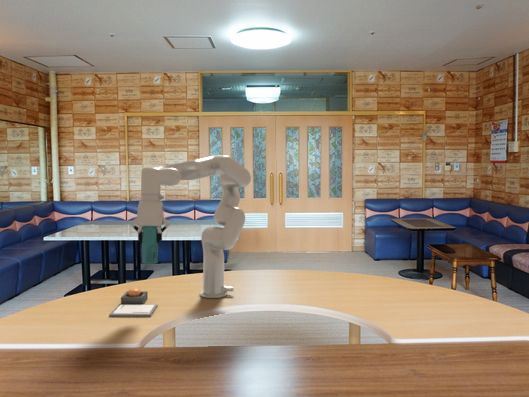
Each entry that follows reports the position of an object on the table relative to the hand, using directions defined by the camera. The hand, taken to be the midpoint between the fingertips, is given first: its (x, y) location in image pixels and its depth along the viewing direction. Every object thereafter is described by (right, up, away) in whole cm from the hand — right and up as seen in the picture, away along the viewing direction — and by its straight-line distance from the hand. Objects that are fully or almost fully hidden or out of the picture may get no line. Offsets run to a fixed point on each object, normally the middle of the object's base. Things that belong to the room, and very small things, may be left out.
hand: (150, 242), depth 175 cm
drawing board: (-6, -28, +1) cm, 29 cm away
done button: (-10, -24, +12) cm, 29 cm away
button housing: (-10, -27, +12) cm, 31 cm away
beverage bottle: (0, -10, 0) cm, 10 cm away
